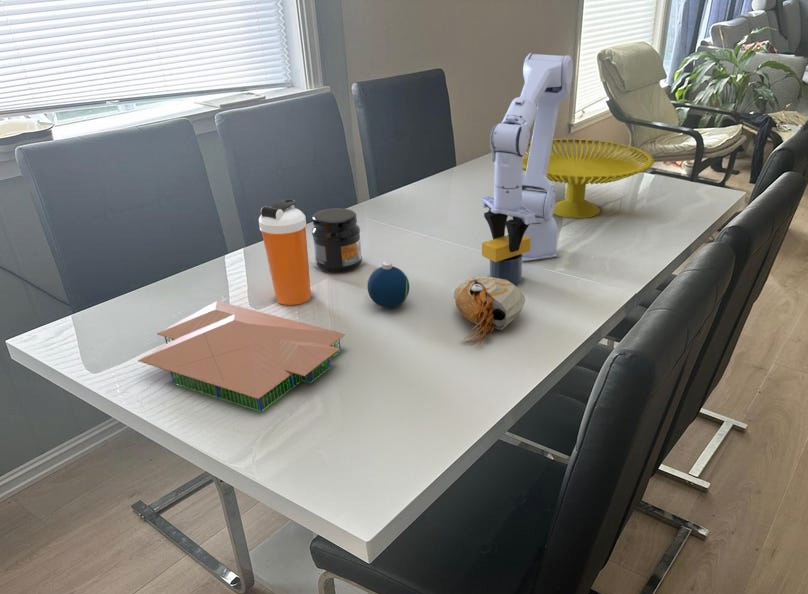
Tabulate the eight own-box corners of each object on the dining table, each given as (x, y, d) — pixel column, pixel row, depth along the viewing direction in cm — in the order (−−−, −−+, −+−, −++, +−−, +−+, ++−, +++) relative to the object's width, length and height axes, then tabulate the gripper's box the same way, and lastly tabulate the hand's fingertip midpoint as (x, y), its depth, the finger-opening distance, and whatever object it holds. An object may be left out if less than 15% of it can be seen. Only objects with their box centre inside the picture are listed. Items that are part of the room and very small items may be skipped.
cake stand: (668, 203, 199) (676, 150, 191) (613, 247, 169) (619, 186, 162) (544, 180, 217) (547, 131, 209) (475, 216, 188) (475, 161, 180)
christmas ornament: (399, 317, 136) (396, 271, 131) (361, 311, 139) (357, 264, 133) (417, 300, 143) (415, 255, 138) (380, 294, 145) (377, 249, 140)
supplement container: (372, 265, 159) (368, 214, 152) (334, 278, 152) (329, 226, 146) (343, 252, 165) (339, 204, 158) (306, 265, 158) (300, 215, 152)
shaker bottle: (323, 292, 146) (312, 200, 136) (300, 310, 139) (287, 214, 128) (287, 286, 148) (273, 195, 138) (262, 303, 141) (246, 208, 131)
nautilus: (501, 360, 123) (425, 348, 128) (536, 304, 140) (468, 295, 145) (499, 322, 119) (420, 311, 124) (536, 268, 135) (465, 261, 140)
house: (275, 420, 106) (267, 375, 102) (123, 370, 118) (110, 329, 114) (360, 353, 124) (356, 312, 120) (220, 316, 136) (212, 278, 132)
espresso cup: (514, 272, 156) (514, 247, 153) (526, 284, 150) (527, 258, 147) (484, 276, 154) (485, 250, 151) (496, 288, 148) (496, 262, 145)
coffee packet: (516, 245, 153) (516, 232, 151) (530, 251, 150) (530, 238, 148) (481, 256, 147) (481, 242, 146) (495, 262, 144) (495, 248, 143)
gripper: (470, 180, 144) (470, 241, 150) (517, 197, 134) (515, 262, 141) (496, 174, 147) (494, 234, 154) (543, 190, 138) (540, 253, 145)
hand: (506, 247), depth 148 cm, fingers closed on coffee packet, 4 cm apart
